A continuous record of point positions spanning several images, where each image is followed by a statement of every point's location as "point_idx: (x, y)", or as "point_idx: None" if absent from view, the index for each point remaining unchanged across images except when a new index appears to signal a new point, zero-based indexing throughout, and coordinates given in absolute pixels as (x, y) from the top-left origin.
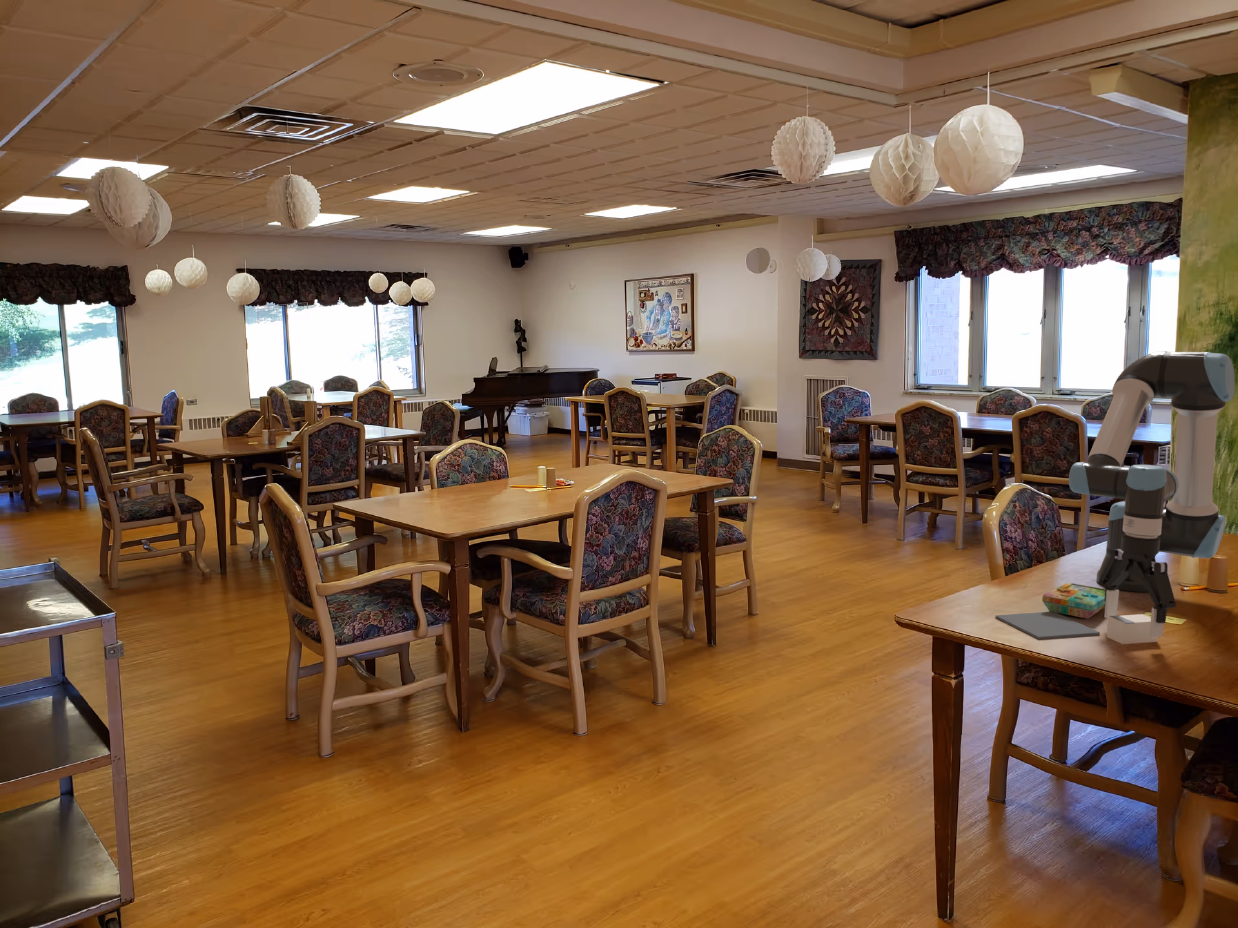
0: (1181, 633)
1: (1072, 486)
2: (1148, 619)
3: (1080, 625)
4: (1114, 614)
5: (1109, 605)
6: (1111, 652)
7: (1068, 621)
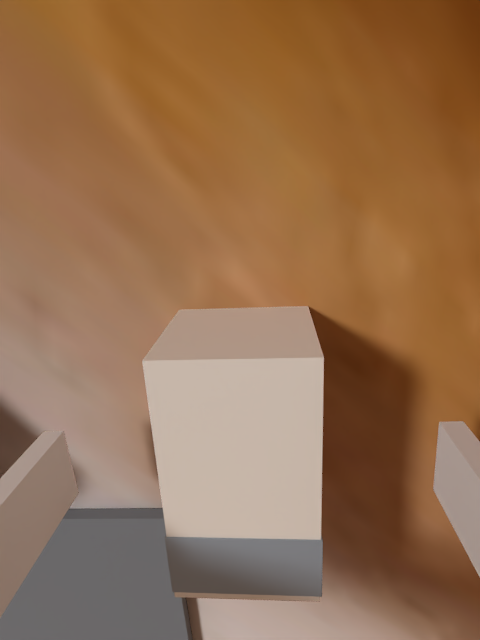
0: (181, 3)
1: None
2: (272, 406)
3: (64, 535)
4: (58, 460)
5: (30, 550)
6: (398, 601)
7: None
